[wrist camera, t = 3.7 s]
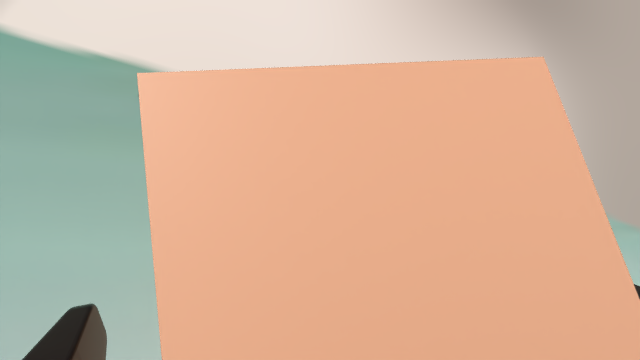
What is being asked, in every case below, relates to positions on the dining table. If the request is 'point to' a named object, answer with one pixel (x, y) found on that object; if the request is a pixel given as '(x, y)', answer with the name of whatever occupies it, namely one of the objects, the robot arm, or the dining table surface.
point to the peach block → (378, 216)
